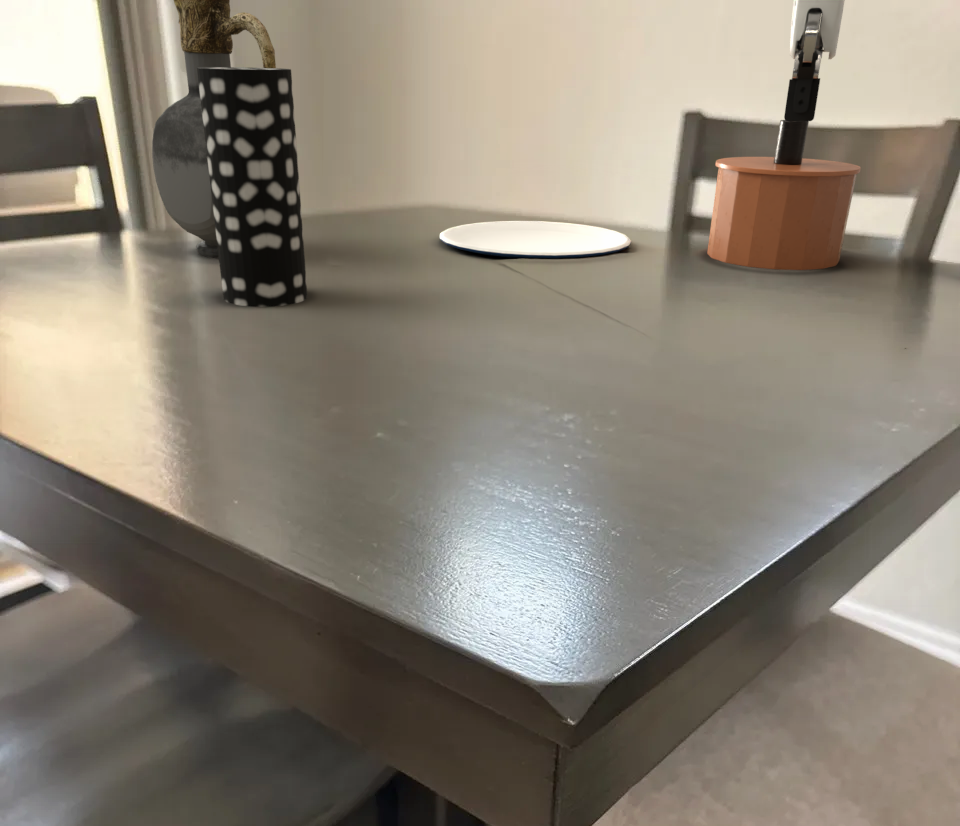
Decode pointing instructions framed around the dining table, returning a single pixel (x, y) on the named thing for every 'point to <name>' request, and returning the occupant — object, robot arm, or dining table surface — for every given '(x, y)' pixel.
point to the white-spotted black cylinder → (254, 183)
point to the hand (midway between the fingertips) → (799, 118)
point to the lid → (789, 157)
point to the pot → (779, 220)
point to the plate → (534, 239)
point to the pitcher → (198, 116)
